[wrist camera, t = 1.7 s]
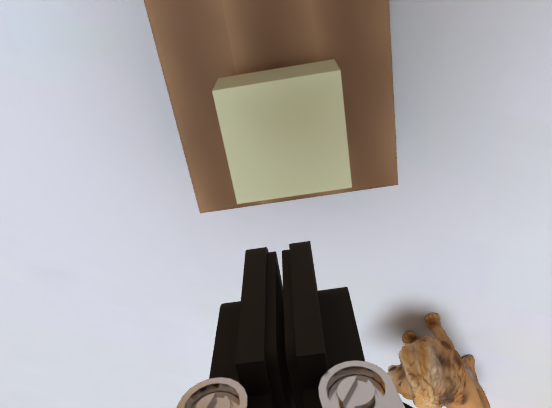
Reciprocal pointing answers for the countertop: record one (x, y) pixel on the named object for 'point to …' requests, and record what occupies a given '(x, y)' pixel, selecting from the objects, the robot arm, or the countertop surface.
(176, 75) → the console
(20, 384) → the countertop surface
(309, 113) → the pale green block
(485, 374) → the countertop surface
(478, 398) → the lion figurine
